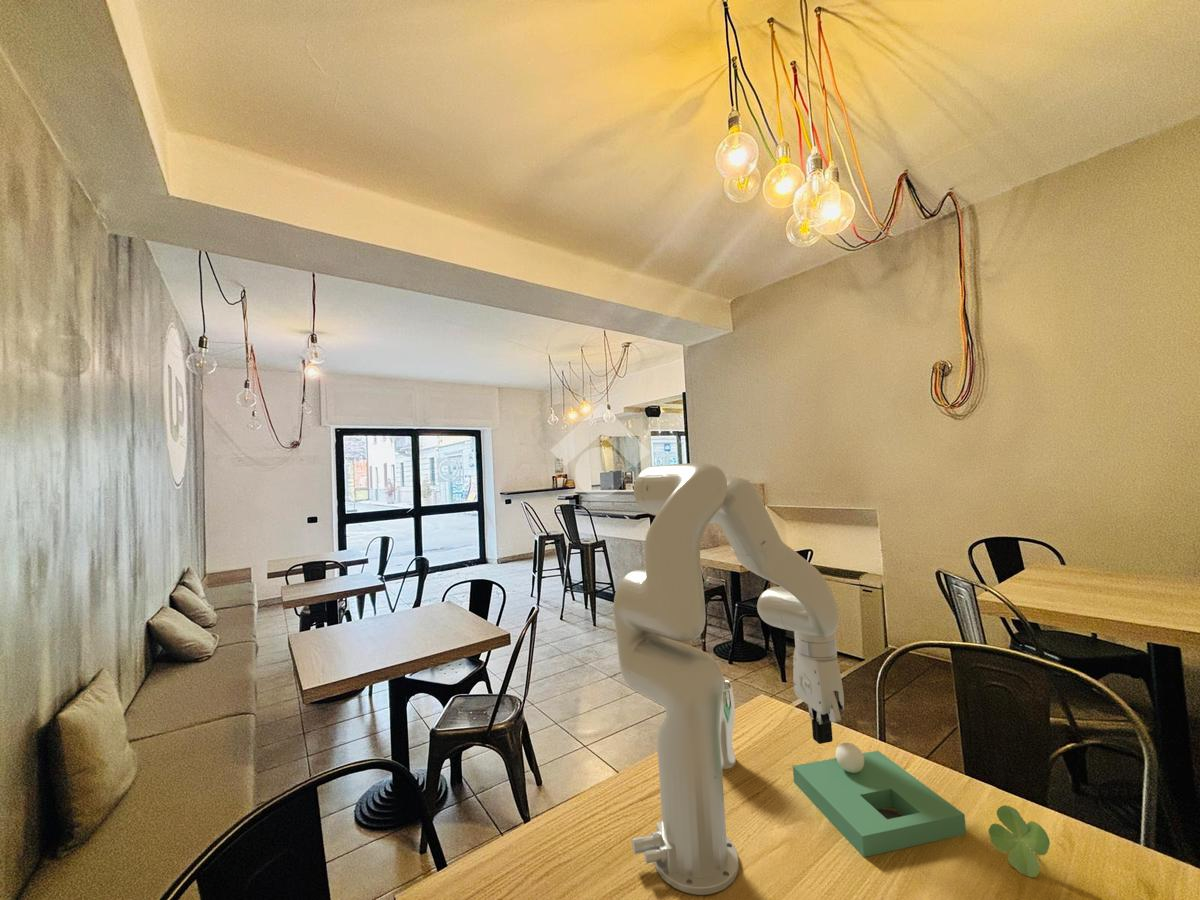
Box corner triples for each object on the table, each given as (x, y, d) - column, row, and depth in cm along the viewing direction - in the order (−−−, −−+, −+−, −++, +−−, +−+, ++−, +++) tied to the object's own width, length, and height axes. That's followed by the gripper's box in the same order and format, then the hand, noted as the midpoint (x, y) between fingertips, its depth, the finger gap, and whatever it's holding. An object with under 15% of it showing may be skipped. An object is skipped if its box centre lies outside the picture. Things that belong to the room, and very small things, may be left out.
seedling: (1010, 877, 72) (996, 870, 69) (993, 811, 77) (980, 802, 74) (1073, 887, 68) (1062, 882, 65) (1051, 817, 73) (1039, 808, 70)
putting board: (863, 857, 72) (862, 836, 72) (793, 782, 90) (792, 765, 90) (966, 834, 75) (964, 814, 75) (879, 766, 93) (878, 750, 93)
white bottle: (710, 747, 102) (706, 674, 103) (743, 757, 98) (738, 681, 99) (696, 764, 97) (692, 687, 98) (730, 775, 93) (725, 695, 93)
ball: (848, 780, 85) (846, 753, 85) (831, 765, 89) (829, 739, 90) (871, 776, 86) (869, 749, 86) (853, 761, 90) (851, 735, 90)
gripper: (777, 636, 103) (784, 724, 102) (822, 662, 88) (830, 766, 88) (809, 631, 104) (816, 719, 104) (858, 657, 90) (867, 759, 89)
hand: (822, 740), depth 96 cm, fingers closed
